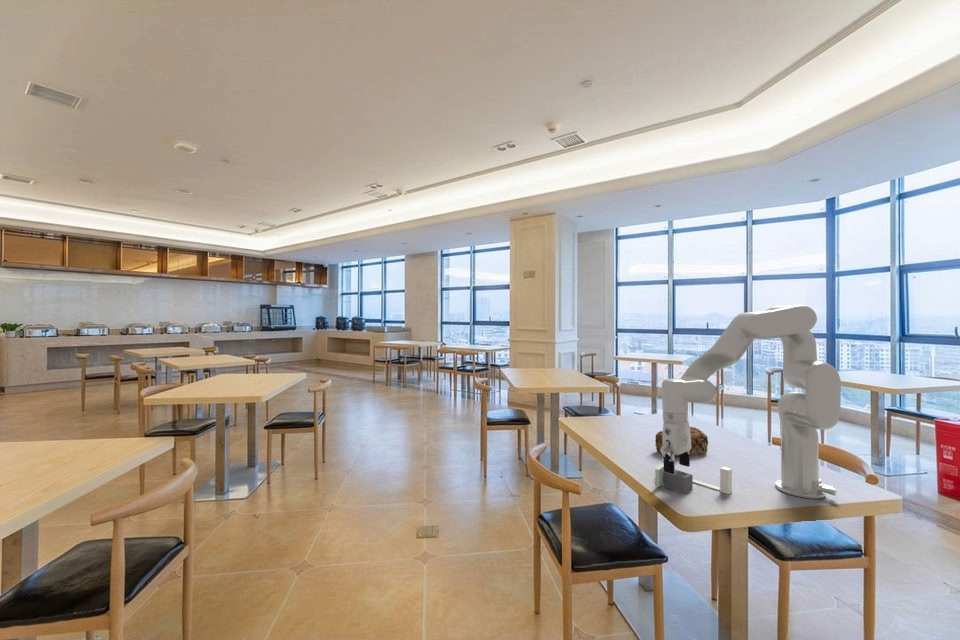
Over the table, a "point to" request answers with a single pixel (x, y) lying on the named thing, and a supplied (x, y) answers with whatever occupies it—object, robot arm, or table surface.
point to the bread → (697, 442)
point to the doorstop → (678, 481)
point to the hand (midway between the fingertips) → (677, 469)
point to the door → (660, 474)
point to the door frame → (724, 480)
